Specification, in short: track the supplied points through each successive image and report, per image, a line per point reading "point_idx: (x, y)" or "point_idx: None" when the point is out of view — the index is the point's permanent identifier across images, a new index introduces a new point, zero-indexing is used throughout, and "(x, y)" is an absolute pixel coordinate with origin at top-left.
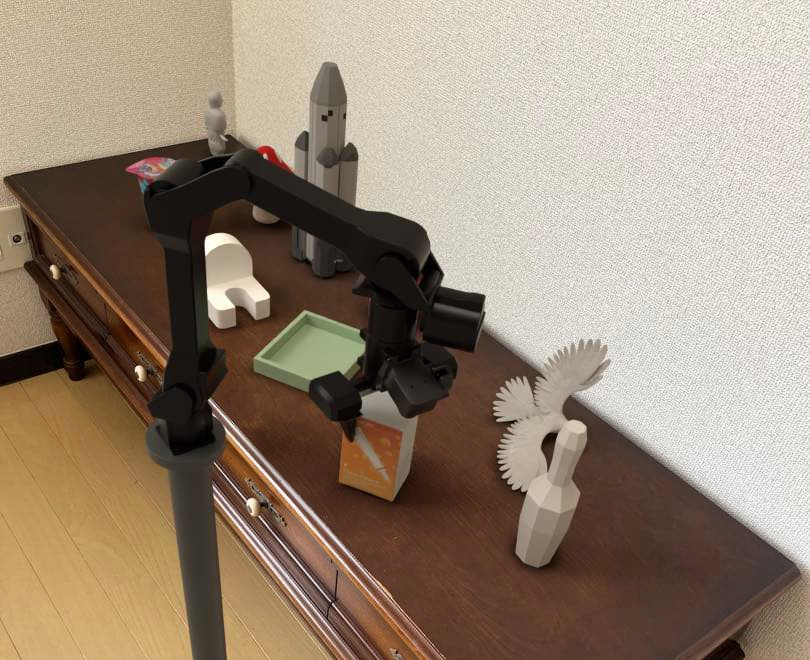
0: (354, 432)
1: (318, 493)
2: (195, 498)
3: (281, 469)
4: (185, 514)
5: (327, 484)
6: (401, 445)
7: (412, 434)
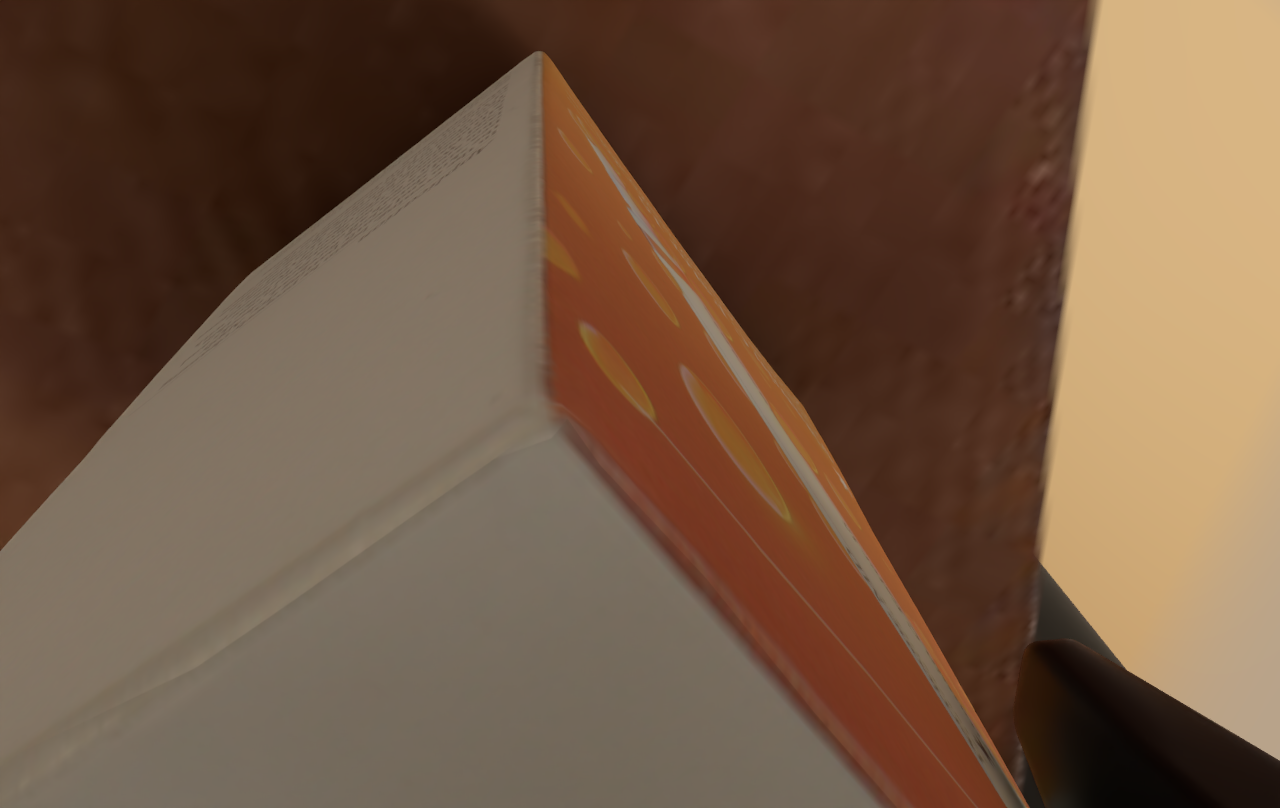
0: (1221, 790)
1: (947, 389)
2: (1080, 642)
3: (1006, 636)
4: (1068, 599)
5: (848, 434)
6: (519, 227)
7: (93, 490)
